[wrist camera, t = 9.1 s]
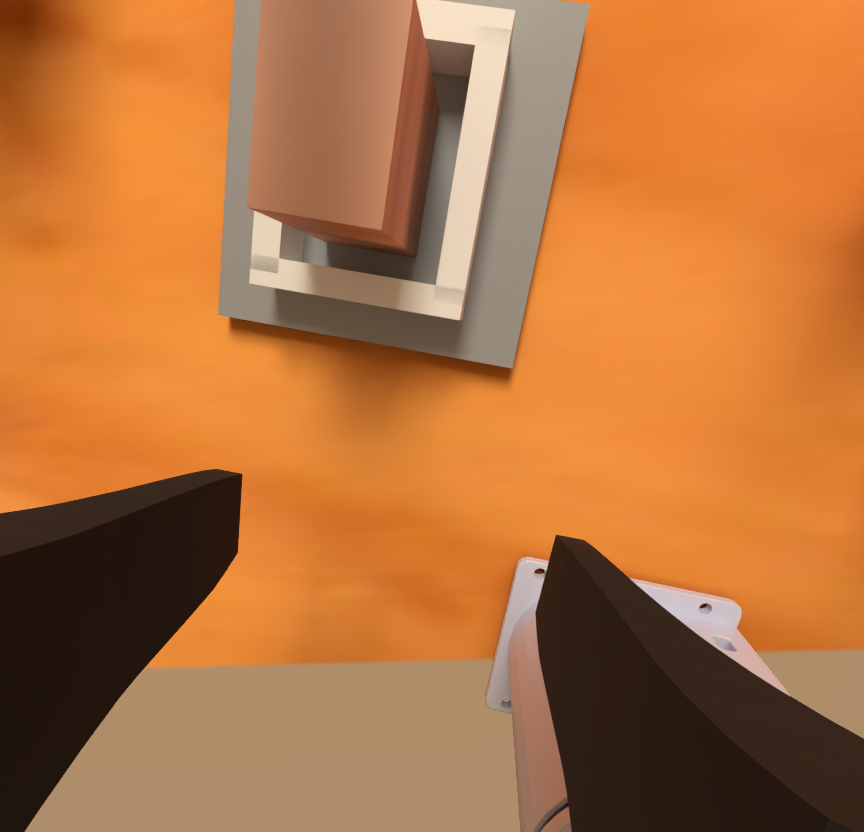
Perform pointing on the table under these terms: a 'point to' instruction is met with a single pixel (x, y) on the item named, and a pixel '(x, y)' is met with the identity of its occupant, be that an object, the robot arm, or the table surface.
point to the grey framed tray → (445, 199)
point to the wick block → (343, 121)
